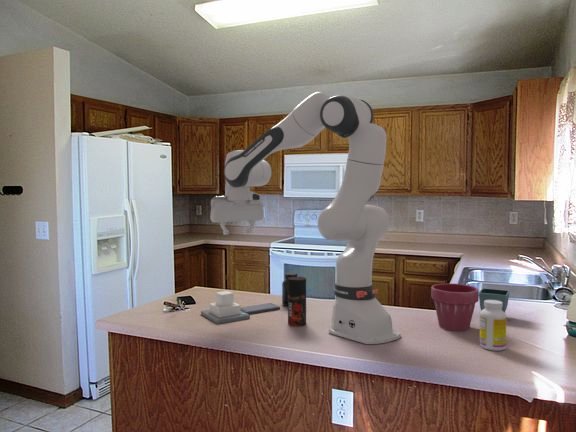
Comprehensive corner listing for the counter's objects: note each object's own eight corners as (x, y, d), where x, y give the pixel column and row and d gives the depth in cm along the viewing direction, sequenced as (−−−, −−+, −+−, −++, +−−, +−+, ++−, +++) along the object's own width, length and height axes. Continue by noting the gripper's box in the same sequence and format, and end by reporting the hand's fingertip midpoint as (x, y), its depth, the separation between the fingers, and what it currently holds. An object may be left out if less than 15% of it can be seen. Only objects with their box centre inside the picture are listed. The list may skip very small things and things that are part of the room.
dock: (249, 318, 155) (249, 306, 155) (217, 324, 149) (217, 311, 148) (231, 309, 167) (231, 298, 167) (200, 314, 160) (200, 302, 160)
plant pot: (421, 323, 150) (422, 284, 149) (456, 319, 154) (457, 281, 154) (450, 336, 136) (451, 293, 135) (488, 331, 141) (489, 290, 140)
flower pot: (481, 312, 163) (482, 287, 162) (509, 316, 158) (509, 290, 158) (477, 318, 155) (478, 292, 154) (506, 322, 150) (507, 295, 150)
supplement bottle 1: (298, 307, 170) (298, 275, 169) (280, 306, 171) (280, 274, 170) (301, 303, 176) (301, 272, 176) (284, 302, 178) (284, 271, 177)
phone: (270, 305, 173) (270, 302, 173) (280, 309, 167) (280, 306, 167) (237, 310, 165) (237, 307, 165) (246, 314, 160) (246, 312, 159)
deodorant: (309, 322, 150) (309, 277, 149) (300, 327, 145) (300, 280, 144) (293, 320, 153) (293, 276, 152) (284, 324, 148) (284, 279, 147)
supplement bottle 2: (509, 347, 127) (510, 301, 126) (501, 353, 122) (502, 305, 121) (484, 341, 131) (485, 297, 130) (475, 347, 126) (476, 301, 125)
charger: (233, 313, 157) (233, 293, 157) (221, 315, 155) (221, 294, 154) (227, 310, 161) (227, 290, 161) (216, 312, 159) (215, 292, 158)
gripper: (214, 196, 156) (215, 236, 157) (265, 195, 168) (266, 233, 168) (207, 196, 161) (207, 235, 162) (257, 195, 173) (257, 232, 174)
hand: (237, 234), depth 165 cm, fingers open, 8 cm apart
